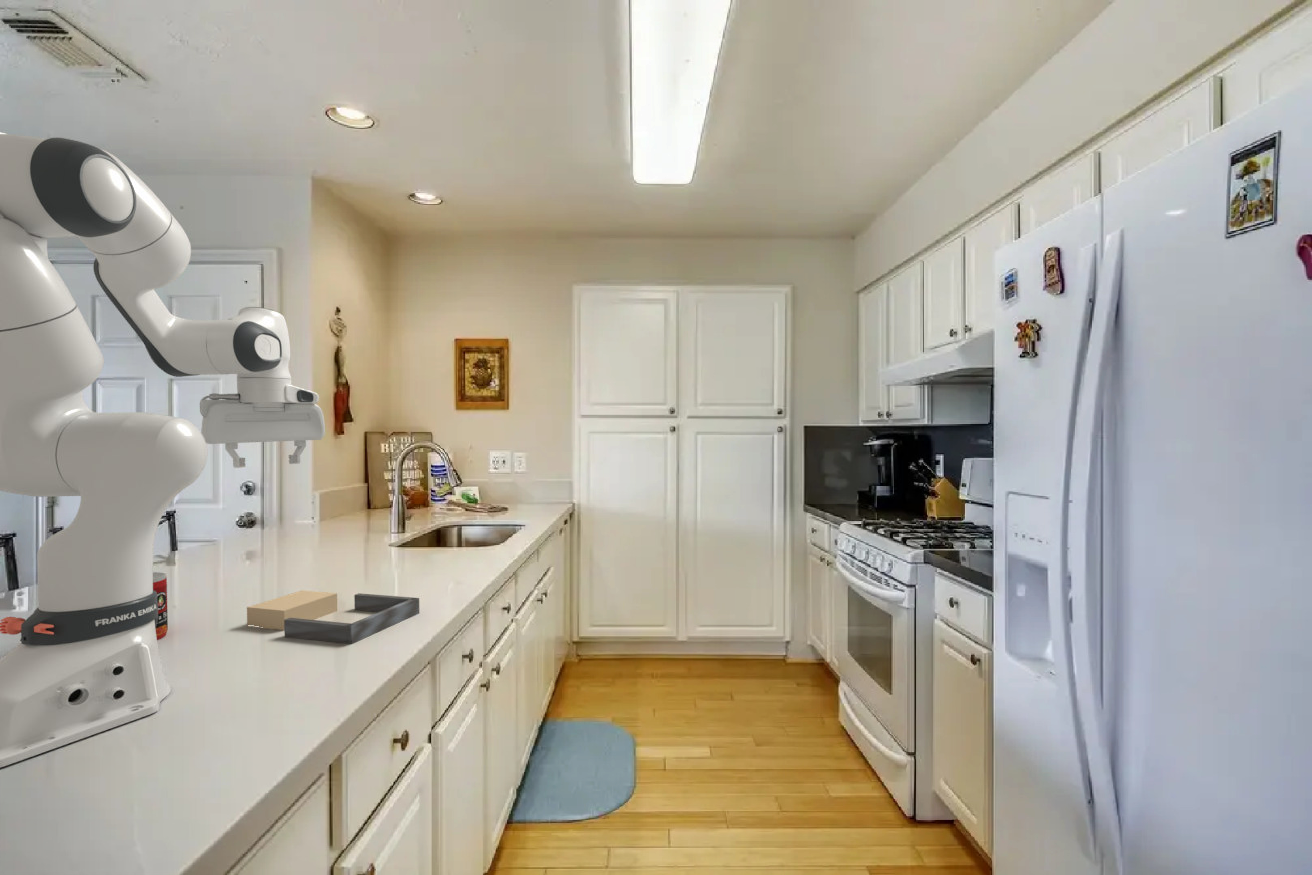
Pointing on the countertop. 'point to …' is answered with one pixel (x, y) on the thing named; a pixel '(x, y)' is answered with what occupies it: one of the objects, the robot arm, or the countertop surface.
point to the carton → (291, 608)
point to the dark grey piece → (388, 614)
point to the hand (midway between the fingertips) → (267, 465)
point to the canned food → (161, 603)
